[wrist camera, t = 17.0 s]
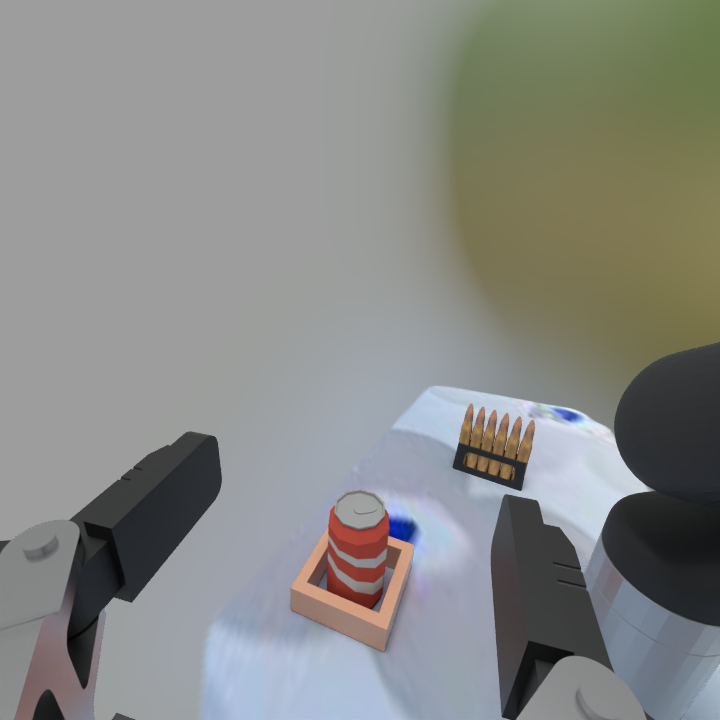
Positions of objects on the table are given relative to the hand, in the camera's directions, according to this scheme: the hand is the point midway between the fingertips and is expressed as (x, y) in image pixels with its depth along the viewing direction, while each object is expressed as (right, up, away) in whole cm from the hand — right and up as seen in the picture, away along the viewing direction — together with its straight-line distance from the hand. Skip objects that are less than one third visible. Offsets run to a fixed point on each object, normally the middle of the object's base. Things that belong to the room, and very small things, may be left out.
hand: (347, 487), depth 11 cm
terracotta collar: (0, -22, +34) cm, 41 cm away
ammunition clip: (+21, -15, +52) cm, 58 cm away
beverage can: (0, -23, +34) cm, 41 cm away
